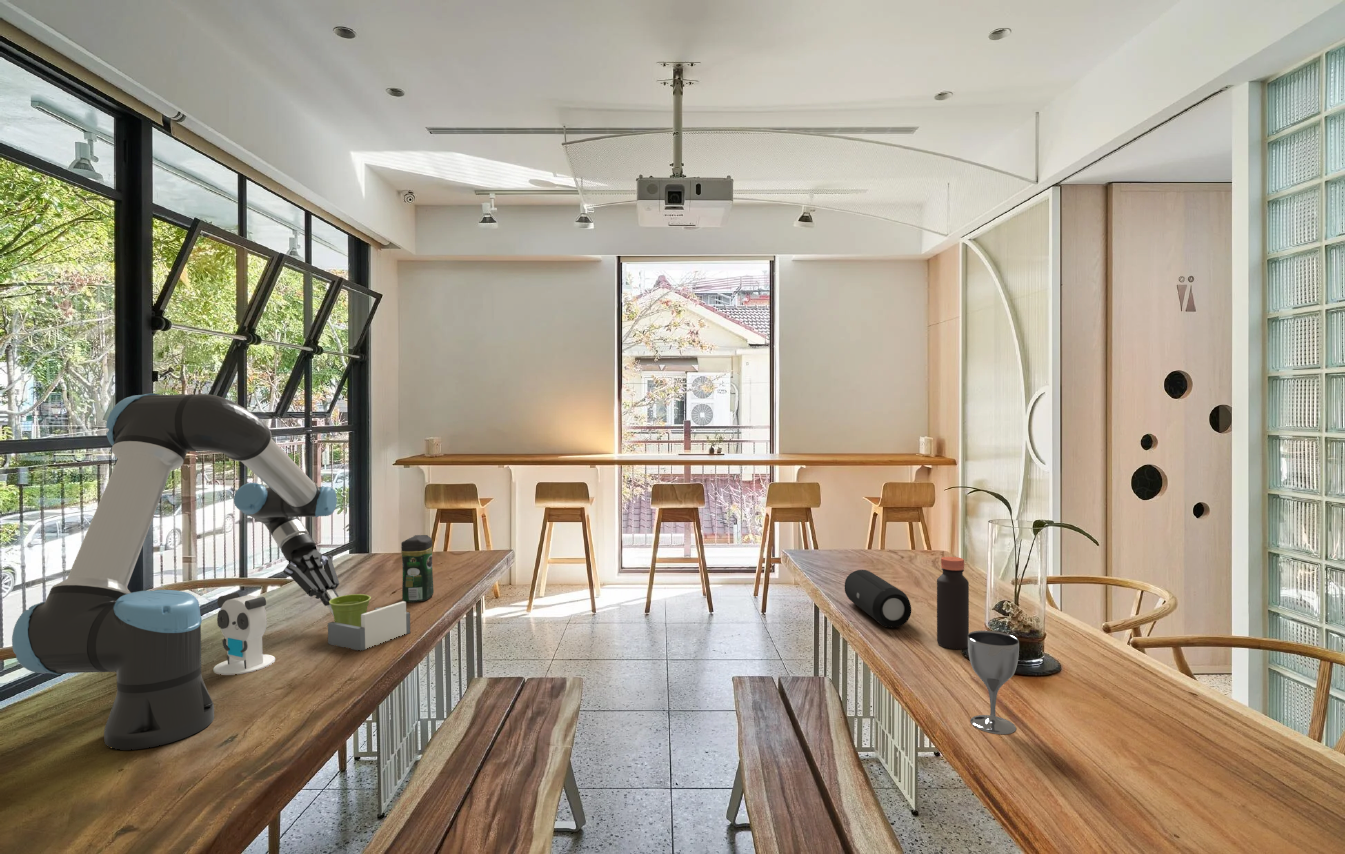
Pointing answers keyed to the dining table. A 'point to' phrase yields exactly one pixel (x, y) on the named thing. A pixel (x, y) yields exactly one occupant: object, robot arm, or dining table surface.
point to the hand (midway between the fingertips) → (339, 613)
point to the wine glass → (993, 672)
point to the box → (371, 628)
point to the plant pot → (349, 608)
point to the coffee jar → (417, 568)
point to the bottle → (952, 605)
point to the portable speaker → (878, 598)
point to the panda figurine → (242, 634)
